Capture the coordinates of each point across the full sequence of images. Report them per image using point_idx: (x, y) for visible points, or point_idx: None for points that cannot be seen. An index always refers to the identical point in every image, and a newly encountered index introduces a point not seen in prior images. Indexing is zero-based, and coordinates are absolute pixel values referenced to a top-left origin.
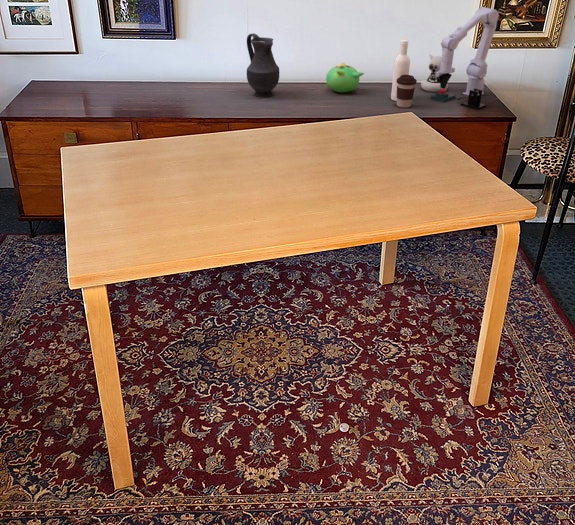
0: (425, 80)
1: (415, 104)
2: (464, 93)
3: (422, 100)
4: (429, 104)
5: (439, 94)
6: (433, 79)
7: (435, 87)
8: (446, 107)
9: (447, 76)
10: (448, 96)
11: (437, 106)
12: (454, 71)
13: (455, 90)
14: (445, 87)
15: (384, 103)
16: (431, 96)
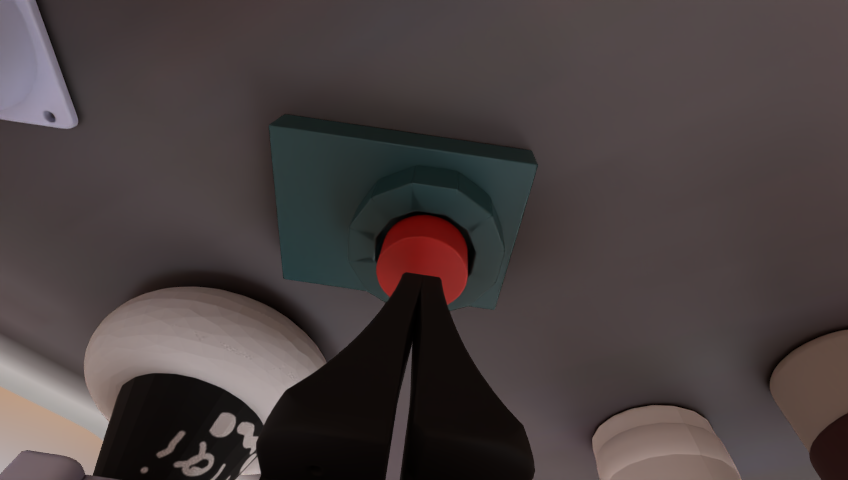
0: (259, 467)
1: (747, 319)
2: (61, 100)
3: (582, 319)
4: (688, 230)
5: (504, 253)
6: (233, 449)
7: (297, 363)
8: (737, 13)
9: (493, 442)
10: (387, 170)
11: (735, 132)
12: (16, 462)
13: (69, 230)
14: (193, 306)
15: (808, 461)
16: (496, 301)
